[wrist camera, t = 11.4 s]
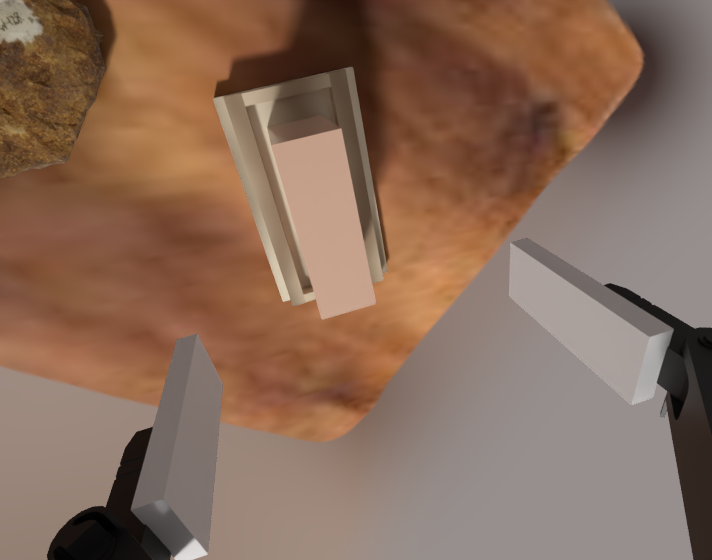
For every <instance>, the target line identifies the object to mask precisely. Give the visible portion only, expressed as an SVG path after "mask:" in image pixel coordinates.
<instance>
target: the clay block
mask: <svg viewBox="0 0 712 560" xmlns="http://www.w3.org/2000/svg"><path fill="white" fill-rule="evenodd" d="M267 129H268V134H269V139H270V143H271V147H272V151H273V154H274V157H275V161H276V164H277V168H278V171H279V174H280V178H281V181H282V185H283V188H284V192H285V195H286V198H287V202H288V205H289V209H290V212H291V216H292V219H293V222H294V226H295V229H296V233H297V236H298V240H299V243H300V246H301V250H302V253H303V257H304V260H305V263H306V267H307V270H308V274H309V277H310V281H311V284H312V287H313V291H314V294H315V298H316V301H317V305H318V308H319V311H320V315H321V318H322V320H323V319H326V318H330V317H333V316H336V315H340V314H343V313H347V312H350V311H353V310H357V309H360V308H364V307H367V306H370V305H374V304H376V300H375V295H374V290H373V285H372V280H371V275H370V270H369V265H368V260H367V255H366V250H365V245H364V240H363V235H362V230H361V225H360V220H359V215H358V210H357V204H356V199H355V194H354V189H353V184H352V179H351V174H350V169H349V164H348V159H347V154H346V149H345V144H344V139H343V134H342V129H341V128H340V127H339V126H337V125H336V124H334V123H332V122H331V121H329V120H328V119H326V118H325V117H323V116H322V115H318V116H313V117H309V118H305V119H301V120H297V121H292V122H288V123H284V124H280V125H276V126H271V127H267Z"/></svg>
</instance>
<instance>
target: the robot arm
mask: <svg viewBox="0 0 712 560" xmlns="http://www.w3.org/2000/svg"><path fill="white" fill-rule="evenodd" d="M510 244H511V245H510V246H511V247H510V285H509V297H510V298H512V299H513V300H514V301H515V302H516V303H517V304H518V305H520V306H521V307H522V308H523V309H524V310H525V311H526V312H527V313H529V314H530V315H531V316H532V317H533V318H534V319H535V320H536V321H537V322H539V323H540V324H541V325H542V326H543V327H544V328H545V329H546V330H547V331H549V332H550V333H551V334H552V335H553V336H554V337H555V338H556V339H558V340H559V341H560V342H561V343H562V344H563V345H564V346H565V347H567V348H568V349H569V350H570V351H571V352H572V353H573V354H574V355H576V356H577V357H578V358H579V359H580V360H581V361H582V362H583V363H584V364H586V365H587V366H588V367H589V368H590V369H591V370H592V371H593V372H595V373H596V374H597V375H598V376H599V377H600V378H601V379H602V380H604V381H605V382H606V383H607V384H608V385H609V386H610V387H612V388H613V389H614V390H615V391H616V392H617V393H618V394H619V395H621V396H622V397H623V398H624V399H625V400H626V401H627V402H628V403H629V404H630V405H633V404H636V403H639V402H642V401H644V400H648V399H650V398H653V396H654V392H655V389H656V386H657V383H658V384H659V385H660V386H661V387H663V388H664V389H665V390H667V395H666V397H665V400H664V404H663V406H662V409H661V414H660V417H665V415H666V412H667V411H668V417H669V422H670V428H671V434H672V440H673V445H674V451H675V457H676V462H677V468H678V474H679V479H680V485H681V490H682V497H683V502H684V507H685V513H686V519H687V525H688V530H689V536H690V542H691V547H692V553H693V559H694V560H712V328H696V329H694V328H693V327H691V326H689V325H688V324H686V323H684V322H682V321H681V320H679V319H677V318H676V317H674V316H672V315H671V314H669V313H667V312H666V311H664V310H662V309H661V308H659V307H657V306H655V305H652V304H651V303H650V302H649V301H647V300H645V299H644V298H642V299H641V297H640V296H639V295H637V294H635V293H633V292H632V291H630V290H628V289H626V288H623V287H620V286H617V285H614V284H611V283H609V284H606V285H602V284H601V283H599V282H597V281H596V280H594V279H593V278H591V277H589V276H588V275H586V274H585V273H583V272H581V271H580V270H578V269H577V268H575V267H573V266H572V265H570V264H568V263H567V262H565V261H564V260H562V259H560V258H559V257H557V256H556V255H554V254H552V253H551V252H549V251H548V250H546V249H544V248H543V247H541V246H540V245H538V244H536V243H534V242H533V241H531V240H530V239H528V238H525V239H521V240H518V241H514V242H511V243H510ZM222 392H223V383H222V381H221V379H220V377H219V375H218V373H217V371H216V369H215V367H214V365H213V363H212V361H211V359H210V357H209V356H208V354H207V352H206V350H205V348H204V346H203V344H202V342H201V340H200V338H199V336H198V334H194V335H190V336H187V337H184V338H180V339H177V341H176V345H175V349H174V352H173V356H172V360H171V363H170V367H169V371H168V374H167V378H166V382H165V385H164V389H163V393H162V396H161V400H160V404H159V407H158V411H157V415H156V419H155V422H154V426H153V427H151V428H148V429H144V430H141V431H138V432H136V433H135V435H134V436H133V438H132V439H131V441H130V442H129V443H128V445H127V446H126V448H125V450H124V453H123V456H122V459H121V462H120V465H121V466H120V467H119V468H118V471H117V475H116V480H115V481H114V484H113V487H112V490H111V493H110V496H109V499H108V502H107V505H106V508H105V507H103V506H96V507H91V508H88V509H86V510H84V511H81V512H80V513H78V514H77V515H76V516H75V517H73V518H72V519H70V520H69V521H68V522H67V523H66V524H65V525H64V526H63V527H62V528H61V529H60V530H59V532H58V533H57V535H56V536H55V538H54V539H53V541H52V542H51V545H50V548H49V551H48V554H47V558H48V560H170V557H171V555H172V556H173V557H174V558H175V559H176V560H193V559H196V558H199V557H202V556H204V555H207V554H208V549H209V548H208V547H209V538H210V526H211V515H212V503H213V492H214V481H215V469H216V459H217V447H218V437H219V425H220V414H221V403H222Z"/></svg>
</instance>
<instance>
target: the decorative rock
mask: <svg viewBox="0 0 712 560" xmlns="http://www.w3.org/2000/svg"><path fill="white" fill-rule="evenodd" d="M102 36H103V35H102V34H101V33H100V32H99V30H97V29H95V27H94V24H93V21H92V18H91V15H90V13H89V11H88V8H87V6H84V5H82V4H80V3H78V2H76V1H75V0H0V178H2V177H13V176H15V175H17V174H19V173H21V172H24V171H26V170H29V169H31V168H35V169H41V168H44V167H47V166H49V165H52V164H58V163H66V162H67V160H68V159H69V157H70V154H71V151H72V148H73V145H74V141H75V140H77V138H78V135H79V133H80V128H81V125H82V123H83V121H84V119H85V114H86V111H87V110H88V109H89V108H90V107H91V105H92V104H93V103H94V102H95V100H96V96H97V91H98V87H99V84H100V82H101V79H102V76H103V74H104V72H105V70H106V66H105V63H104V60H103V58H102V55H101V50H100V43H101V42H103V41H102V40H101V37H102Z"/></svg>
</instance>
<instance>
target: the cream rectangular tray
mask: <svg viewBox="0 0 712 560" xmlns="http://www.w3.org/2000/svg"><path fill="white" fill-rule="evenodd" d="M213 101H214V104H215V107H216V110H217V113H218V116H219V118H220V121H221V124H222V127H223V130H224V133H225V136H226V139H227V142H228V145H229V147H230V150H231V153H232V156H233V159H234V162H235V165H236V168H237V171H238V173H239V176H240V179H241V182H242V185H243V188H244V191H245V194H246V197H247V199H248V202H249V205H250V208H251V211H252V214H253V217H254V220H255V223H256V225H257V228H258V231H259V234H260V237H261V240H262V243H263V246H264V249H265V251H266V254H267V257H268V260H269V263H270V266H271V269H272V272H273V275H274V277H275V280H276V283H277V286H278V289H279V292H280V295H281V298H282V301H283V302H285V301H288V300H291V303H292V306H296V305H299V304H303V303H306V302H308V301H311V300H315V299H316V298H315V294H314V291H313V287H312V284H311V281H310V277H309V274H308V270H307V267H306V263H305V260H304V257H303V253H302V250H301V246H300V243H299V240H298V236H297V233H296V229H295V226H294V222H293V219H292V216H291V212H290V209H289V205H288V202H287V198H286V195H285V192H284V188H283V185H282V181H281V178H280V174H279V171H278V168H277V164H276V161H275V157H274V154H273V151H272V147H271V143H270V139H269V134H268V129H267V127H271V126H276V125H280V124H284V123H288V122H292V121H297V120H301V119H305V118H309V117H313V116H318V115H322V116H323V117H325V118H326V119H328V120H329V121H331V122H332V123H334V124H336V125H337V126H339V127H340V128H341V129H342V134H343V139H344V144H345V149H346V154H347V159H348V164H349V169H350V174H351V179H352V184H353V189H354V194H355V199H356V204H357V210H358V215H359V220H360V225H361V230H362V235H363V240H364V245H365V250H366V255H367V260H368V265H369V270H370V275H371V280H372V283H376V282H379V281H382V280H383V275H382V273H386V272H388V269H387V263H386V257H385V252H384V246H383V240H382V234H381V228H380V222H379V216H378V211H377V205H376V199H375V193H374V187H373V181H372V175H371V170H370V164H369V158H368V152H367V146H366V140H365V134H364V129H363V123H362V117H361V111H360V105H359V99H358V93H357V88H356V82H355V76H354V70H353V67H348V68H343V69H339V70H335V71H330V72H326V73H321V74H317V75H312V76H308V77H304V78H299V79H295V80H290V81H286V82H281V83H277V84H273V85H268V86H264V87H259V88H255V89H251V90H246V91H242V92H237V93H233V94H228V95H224V96H220V97H215V98H213Z"/></svg>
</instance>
